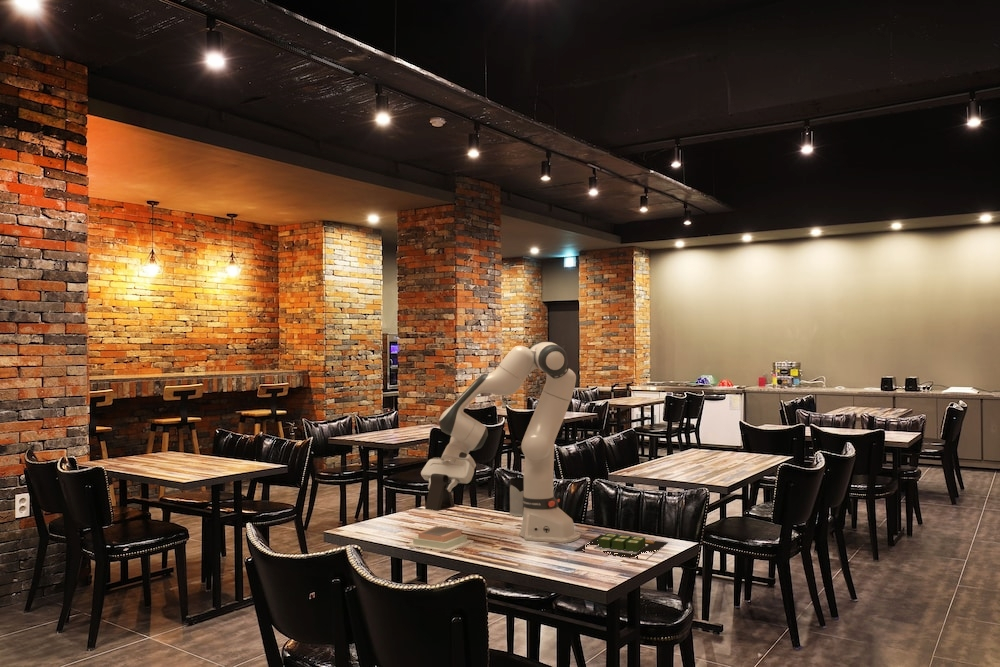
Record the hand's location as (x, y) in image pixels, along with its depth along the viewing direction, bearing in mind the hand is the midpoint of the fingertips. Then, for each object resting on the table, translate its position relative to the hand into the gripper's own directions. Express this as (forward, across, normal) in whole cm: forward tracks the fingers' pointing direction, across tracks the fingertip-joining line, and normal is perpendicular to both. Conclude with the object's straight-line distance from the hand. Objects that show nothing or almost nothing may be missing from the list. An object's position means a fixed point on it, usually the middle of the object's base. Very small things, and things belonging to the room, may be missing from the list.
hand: (438, 490), depth 263 cm
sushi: (-4, +58, +34) cm, 67 cm away
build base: (+13, 0, +14) cm, 19 cm away
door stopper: (+4, 0, +5) cm, 7 cm away
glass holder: (-27, +3, +55) cm, 61 cm away
